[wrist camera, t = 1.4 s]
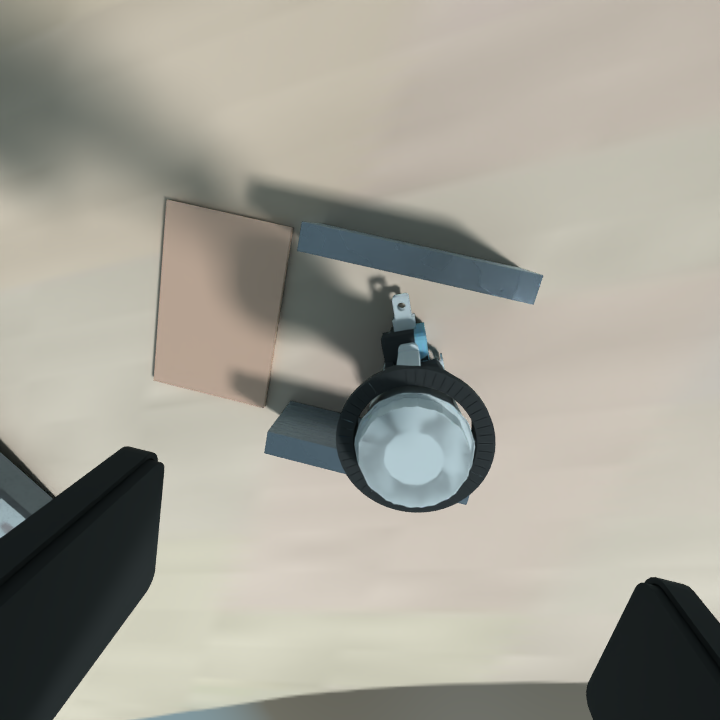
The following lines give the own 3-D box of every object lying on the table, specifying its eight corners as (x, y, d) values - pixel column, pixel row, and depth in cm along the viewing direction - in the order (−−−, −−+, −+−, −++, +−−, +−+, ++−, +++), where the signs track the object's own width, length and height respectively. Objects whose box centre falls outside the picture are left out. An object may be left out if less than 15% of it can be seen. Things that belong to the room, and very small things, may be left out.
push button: (351, 301, 23) (305, 350, 13) (455, 283, 22) (485, 321, 12) (374, 418, 24) (348, 536, 15) (471, 405, 23) (509, 523, 14)
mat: (293, 227, 22) (291, 227, 22) (265, 406, 25) (263, 407, 25) (169, 199, 22) (166, 199, 22) (156, 378, 25) (153, 380, 25)
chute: (520, 267, 21) (543, 275, 17) (458, 462, 24) (466, 504, 21) (321, 223, 22) (301, 221, 18) (287, 419, 25) (264, 453, 21)
